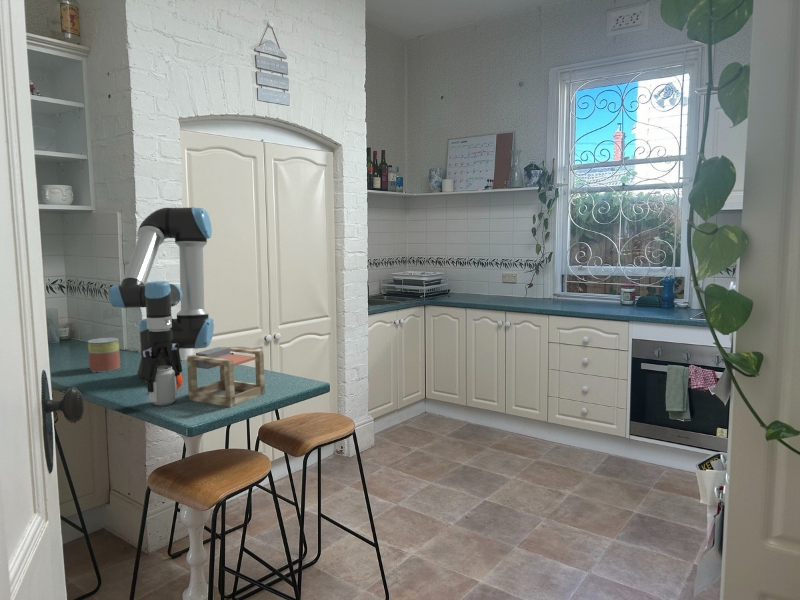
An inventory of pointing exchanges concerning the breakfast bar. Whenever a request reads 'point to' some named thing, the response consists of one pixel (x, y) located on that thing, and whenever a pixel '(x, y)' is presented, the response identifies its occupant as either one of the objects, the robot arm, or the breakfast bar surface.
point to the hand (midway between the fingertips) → (163, 398)
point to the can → (165, 385)
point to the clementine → (179, 381)
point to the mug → (185, 353)
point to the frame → (226, 381)
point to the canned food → (104, 354)
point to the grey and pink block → (221, 357)
